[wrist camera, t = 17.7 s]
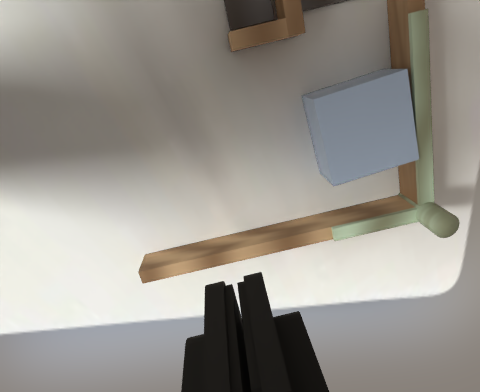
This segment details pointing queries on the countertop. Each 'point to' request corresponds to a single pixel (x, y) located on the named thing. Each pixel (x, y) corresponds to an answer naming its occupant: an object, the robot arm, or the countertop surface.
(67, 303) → the countertop surface
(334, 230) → the box
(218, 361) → the robot arm
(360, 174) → the block
